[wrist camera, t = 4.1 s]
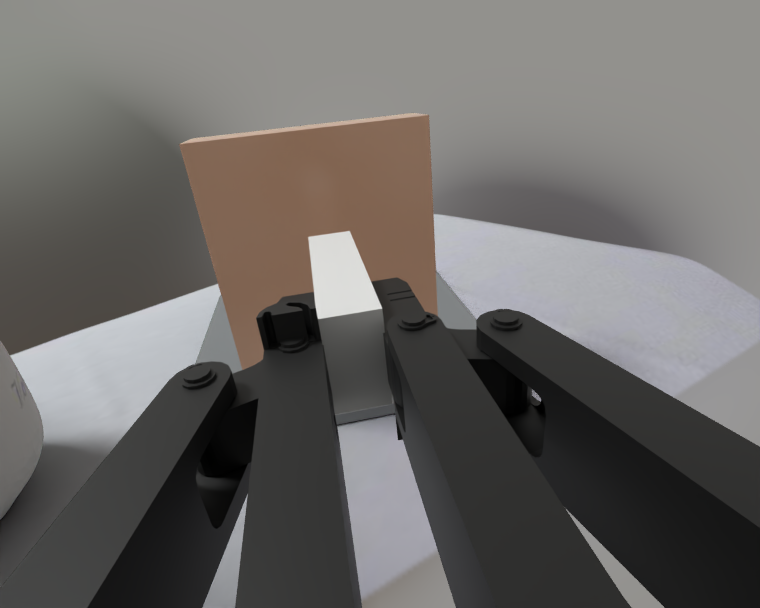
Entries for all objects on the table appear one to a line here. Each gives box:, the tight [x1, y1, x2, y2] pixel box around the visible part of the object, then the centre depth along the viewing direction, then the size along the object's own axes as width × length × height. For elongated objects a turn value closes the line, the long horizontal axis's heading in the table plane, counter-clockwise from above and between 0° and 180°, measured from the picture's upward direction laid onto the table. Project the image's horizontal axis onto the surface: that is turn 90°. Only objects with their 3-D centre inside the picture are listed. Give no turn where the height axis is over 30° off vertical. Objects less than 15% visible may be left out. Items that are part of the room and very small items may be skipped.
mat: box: [195, 272, 476, 425], centre depth 30 cm, size 18×18×1 cm
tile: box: [179, 113, 438, 370], centre depth 22 cm, size 10×3×13 cm, turn 100°
